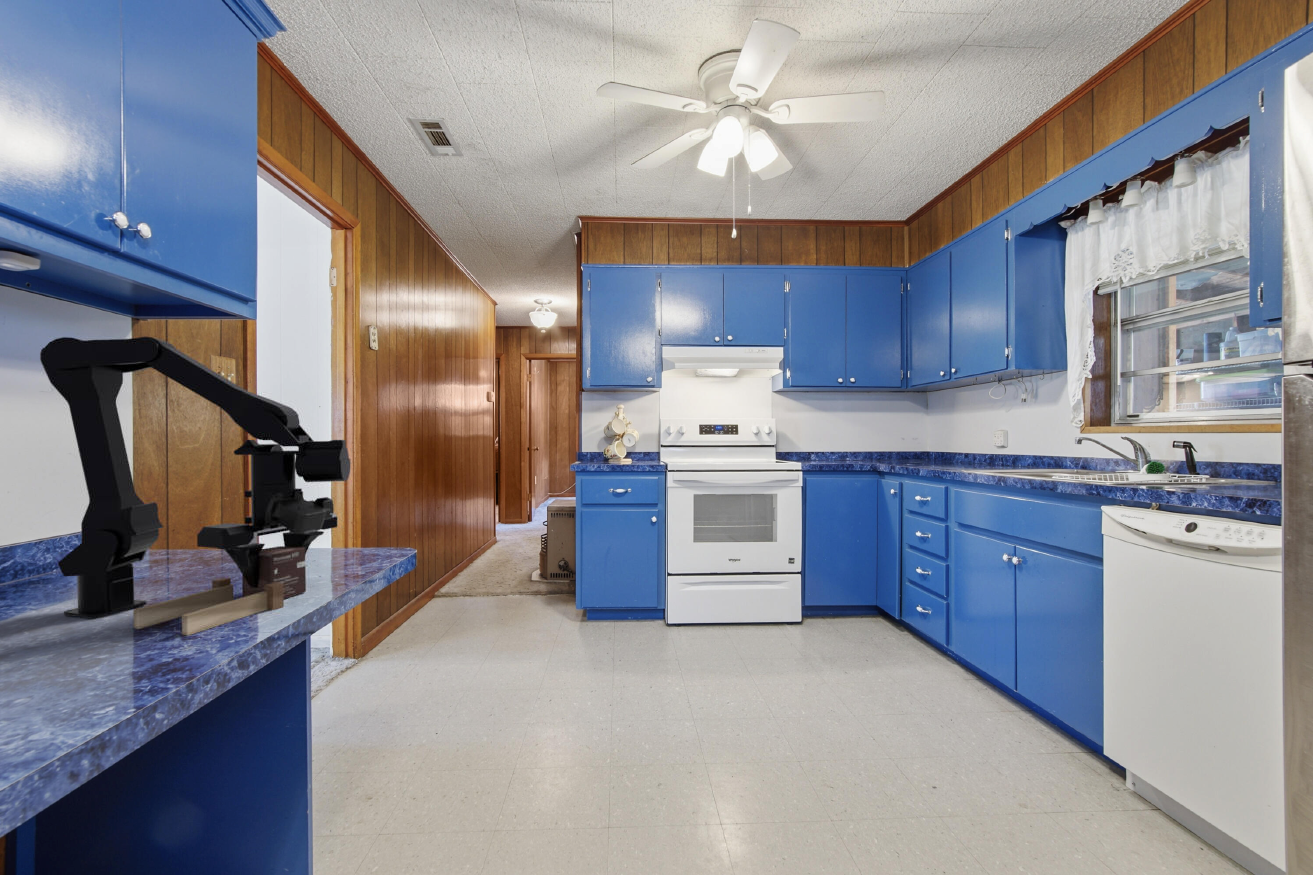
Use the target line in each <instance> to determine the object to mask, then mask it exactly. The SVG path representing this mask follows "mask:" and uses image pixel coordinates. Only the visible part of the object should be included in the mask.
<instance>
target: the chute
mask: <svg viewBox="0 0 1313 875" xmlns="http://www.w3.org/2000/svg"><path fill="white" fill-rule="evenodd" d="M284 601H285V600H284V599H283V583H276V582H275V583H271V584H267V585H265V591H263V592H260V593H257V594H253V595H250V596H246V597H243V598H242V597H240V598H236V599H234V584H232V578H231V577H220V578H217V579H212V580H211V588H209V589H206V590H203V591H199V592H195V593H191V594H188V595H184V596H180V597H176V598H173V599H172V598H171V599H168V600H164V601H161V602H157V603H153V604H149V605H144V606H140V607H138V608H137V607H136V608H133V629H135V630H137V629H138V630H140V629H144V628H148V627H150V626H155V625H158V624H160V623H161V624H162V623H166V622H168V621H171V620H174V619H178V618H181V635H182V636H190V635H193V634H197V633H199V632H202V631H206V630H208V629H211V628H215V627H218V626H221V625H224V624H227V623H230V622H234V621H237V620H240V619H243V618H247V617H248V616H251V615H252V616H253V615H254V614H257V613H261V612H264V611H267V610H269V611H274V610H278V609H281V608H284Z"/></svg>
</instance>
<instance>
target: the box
mask: <svg viewBox="0 0 1313 875" xmlns="http://www.w3.org/2000/svg"><path fill="white" fill-rule="evenodd" d="M306 571H307V570H306V555H305V548H304V547H287V546H284V545H283V546H281V545H280V546H279V545H278V546H273V547H267V548H262V550H261V551H260V553H259V582H258V587H257V588H251V587H250V586H249V584H248V583H247V581H246V579H245V578H244V576H243V574H242V573H241V574H242V575H241V577H242V578H241V580H242V582H241V585H242V586H241V588H242V591H241V592H242V593H241V594H242V595H241V598H243V597H246V596H250V595H253V594H257V593H260V592H263V591H265V585H267V584H271V583H275V582H276V583H283V599H287V598H291V597H295V596H297V595H300V594H304V593H305V592H306V591H307V580H306V579H307V578H306V574H307V573H306Z"/></svg>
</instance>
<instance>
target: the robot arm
mask: <svg viewBox="0 0 1313 875" xmlns="http://www.w3.org/2000/svg"><path fill="white" fill-rule="evenodd" d="M39 359H40V362H41V365H42V367H43V370H44V372H45V374H46V376H47V379H48V380H49V383H50V384H51V385H52V387H54V389H55V390H56V391H57V392H58V394H59V395H61V397H63V399H64V400H65V401H66V403H67V405H68V408H69V411H70V417H71V421H72V425H73V430H74V435H75V440H76V444H77V449H78V453H79V457H80V463H81V467H82V471H83V476H84V480H85V484H86V490H87V494H88V500H89V501H88V505H87V507H86V510H85V512H84V515H83V518H82V520H81V524H80V525H81V530H80V533H81V537H80V538H81V541H80V544H78V545H77V546H76V547H75V548H73V550H71V551H70V552H69V553H68V554H66V555H65V556H64V557H63V558H62V559H60V560H59V561H58V563H57V564H58V567H59V570H60V572H61V574H62V575H63V577H77V578H76V583H77V584H76V587H77V607H76V608H71V609H68V610H65V611H63V615H65V616H72V617H78V618H89V619H94V618H99V617H103V616H104V617H105V616H107V615H110V614H115V613H119V612H122V611H127V610H131V609H135V608H137V607H138V608H139V607H143V606H147V601H146V600H140V599H135V578H134V575H135V574H134V563H136V562H137V563H138V562H142V561H143V560H144V558H145V556H146V553H147V552H148V550H149V549H150V548H151V547H152V546H153V545H154V544H155V543H156V541H158V539H159V536H160V530H159V529H162V528H164V525H163V524H162V522H161V521H160V518H159V507H158V503H157V502H148V503H145V502H144V501H143V500H142V499H141V498H140V497H139V496H138V494H137V493H136V490H135V485H134V482H133V481H134V480H133V476H132V472H131V467H130V462H129V457H128V452H127V448H126V444H125V439H124V434H123V429H122V424H121V420H120V416H119V411H118V407H117V399H118V395H119V394H120V391H121V388H122V385H123V384H124V383H123V382H124V374H128V373H134V372H140V371H144V370H148V369H153V370H156V371H157V372H158V373H160V374H162V375H164V376H165V377H168V378H169V379H170V380H172V381H174V382H175V383H178V384H180V385H181V386H182V387H185V388H186V389H188V390H189V391H192V392H193V393H195V394H196V395H198V396H200V397H202V398H204V399H205V400H207V401H208V402H210V403H212V404H214V405H216V406H217V407H218V408H220V409H221V410H222V411H224V412H225V413H226V414H227V415H228V416H229V417H230V419H231V420H232V422H234V423H235V424H236V425H238V426H239V427H240V428H241V429H242V430H244V432H246V433H247V434H248V435H249V436H250V437H252V438H254V439H246V440H245V442H244V443H243V444H242V445H241V446H239V447H237V448H236V449H235V450H234V451H233V454H234V455H235V456H250V490H244V498H250V503H251V504H250V505H251V506H250V509H251V510H250V511H251V512H250V513H251V514H250V516H246V517H245V516H244V523H231V522H230V523H229V522H227V523H221V524H220V523H219V524H214V525H213V524H212V525H207V526H202V527H201V529H200V531H199V532H198V533H197V534H196V535H197V536H196V537H197V538H196V541H197V543H196V544H197V545H196V546H197V547H198V548H199V547H200V548H213V549H218V550H224V551H225V552H226V553H227V554H228V556H229V558H231V560H232V561H233V562H234V563H235V565H236V566H237V568H238V569H239V571H240V572H241V574H243V576H244V578H245V579H246V581H247V583H248V584H249V586H250V587H251V588H257V587H258V582H259V553H260V551H261V550H262V549H264V546H265V545H266V544H265V543H258V537H260V536H265V535H267V536H268V535H272V534H278V533H282V538H283V546H287V547H304V548H305V556H306V554H307V552H308V549H309V548H310V546H311V544H312V542H314V541H315V540H316V539H317V538H318V537H320V536H323V535H324V533H325V531H321V530H329V529H334V528H335V529H336V528H338V516H337V514H336V513H335V512H334V510H335V506H334V502H333V501H334V500H333V499H331V498H330V497H328V496H325V497H324V496H323V497H317V498H316V499H315V500H313V499H312V500H306V499H304V492H303V490H302V489H303V488H296V475H297V476H298V478H302V479H303V480H304V481H305V482H306V483H322V482H323V483H325V482H328V483H329V482H331V483H332V482H346V481H347V480H348V479H349V478H350V473H351V458H350V456H349V451H348V448H347V447H346V446H347V445H346V444H347V441H346V440H345V439H333V440H322V441H321V440H320V441H317V440H316V441H315V440H313V439H312V437H311V436H310V435H309V434H308V433H307V432H306V431H305V429H304V428H303V426H301V425H300V423H301V421H300V418H299V414H298V412H297V411H296V410H294V408H292V407H290V406H288V405H285V404H283V403H280V402H278V401H276V400H272V399H271V398H269V397H268V398H267V397H264V396H262V395H259V394H256V393H254V392H250V391H249V390H247V389H245V388H243V387H241V386H239V385H237V384H236V383H234V382H232V381H231V380H229V379H227V378H226V377H224V376H223V375H221V374H219V373H218V372H216V371H214V370H213V369H211V368H209V367H207V366H205V365H204V364H202V363H201V362H200V361H197V360H196V359H194V358H193V357H191V356H189V355H188V354H186V353H184V352H182V351H181V350H179V349H177V348H176V347H175V346H174V344H171V343H170V342H168V341H166V340H163V339H158V338H157V337H156V338H155V337H151V336H141V337H135V338H134V337H133V338H117V339H115V338H113V339H112V338H111V339H90V340H85V339H84V340H83V339H80V338H75V337H69V336H67V337H66V336H64V337H58V338H55V339H53V340H51V341H49V342H48V343H47V344H46V345H45V346H44V347H42V348H41V350H40V353H39ZM256 440H259V441H272V442H274V443H267V444H266V443H261V444H260V443H259V442H257V441H256ZM283 447H297V448H298V450H284V449H283Z"/></svg>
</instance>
